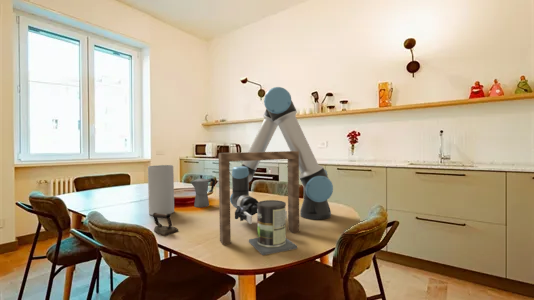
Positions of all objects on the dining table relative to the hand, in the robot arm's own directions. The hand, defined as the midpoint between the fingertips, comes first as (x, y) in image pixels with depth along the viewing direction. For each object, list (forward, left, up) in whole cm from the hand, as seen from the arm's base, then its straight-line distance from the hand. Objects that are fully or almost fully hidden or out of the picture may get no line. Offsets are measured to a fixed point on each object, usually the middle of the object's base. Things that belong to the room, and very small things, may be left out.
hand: (268, 217), depth 95 cm
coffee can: (-1, 0, -9) cm, 9 cm away
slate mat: (-1, 0, -10) cm, 10 cm away
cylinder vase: (+33, -66, -10) cm, 74 cm away
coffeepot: (+10, -74, -10) cm, 75 cm away
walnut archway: (-1, -10, -10) cm, 14 cm away
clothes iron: (+34, -33, -10) cm, 49 cm away
